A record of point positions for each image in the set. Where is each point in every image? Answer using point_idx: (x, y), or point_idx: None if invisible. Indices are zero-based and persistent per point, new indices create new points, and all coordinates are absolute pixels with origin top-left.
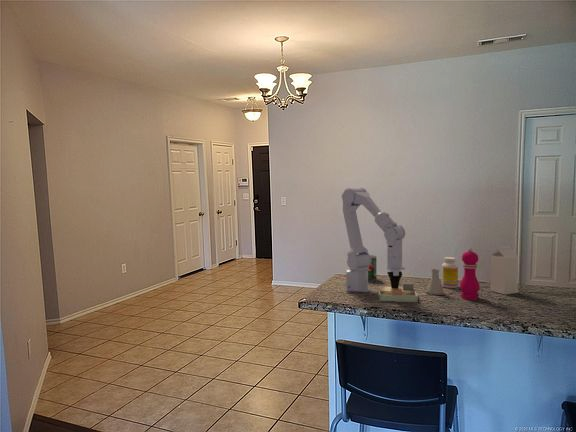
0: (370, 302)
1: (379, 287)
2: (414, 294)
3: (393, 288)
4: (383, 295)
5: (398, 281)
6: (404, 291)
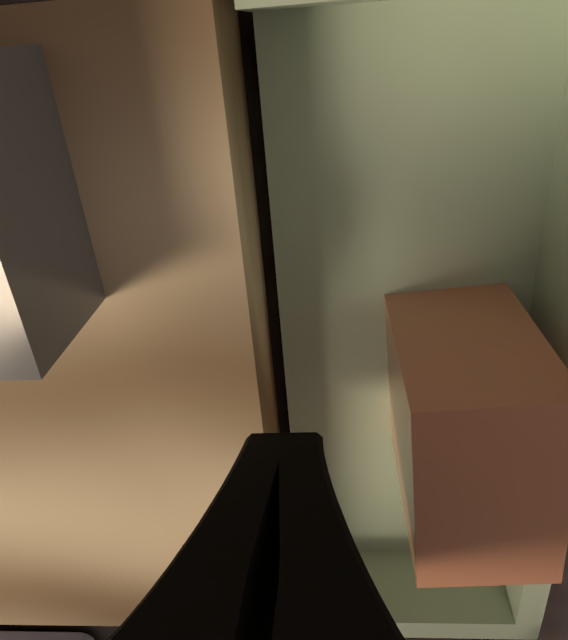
0: (560, 623)
1: (61, 618)
2: (222, 14)
3: (432, 550)
4: (547, 590)
5: (387, 625)
6: (224, 273)
